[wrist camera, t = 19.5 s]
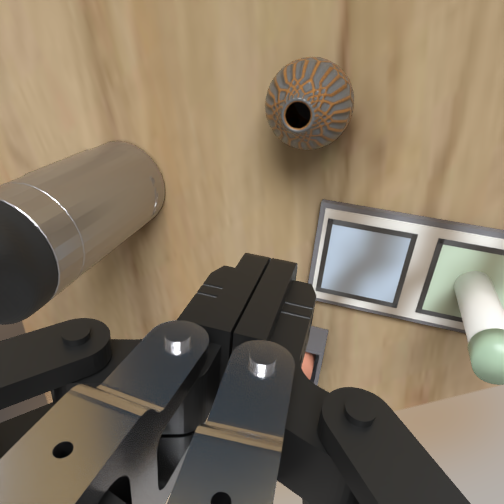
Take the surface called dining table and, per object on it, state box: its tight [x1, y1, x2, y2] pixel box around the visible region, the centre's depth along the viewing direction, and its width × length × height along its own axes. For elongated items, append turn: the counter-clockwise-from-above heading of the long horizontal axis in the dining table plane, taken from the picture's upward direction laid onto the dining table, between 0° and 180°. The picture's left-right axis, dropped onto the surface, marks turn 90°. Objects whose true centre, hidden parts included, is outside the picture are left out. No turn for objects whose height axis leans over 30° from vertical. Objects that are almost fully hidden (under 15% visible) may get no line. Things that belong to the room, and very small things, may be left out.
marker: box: [454, 271, 504, 385], centre depth 35 cm, size 4×4×11 cm
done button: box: [301, 352, 316, 380], centre depth 47 cm, size 4×4×3 cm
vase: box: [265, 57, 354, 150], centre depth 34 cm, size 7×7×9 cm
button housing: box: [306, 326, 328, 385], centre depth 48 cm, size 6×6×4 cm
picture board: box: [308, 199, 504, 333], centre depth 41 cm, size 20×11×1 cm, turn 85°
